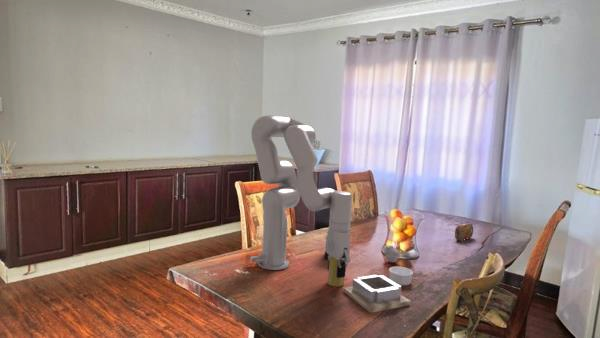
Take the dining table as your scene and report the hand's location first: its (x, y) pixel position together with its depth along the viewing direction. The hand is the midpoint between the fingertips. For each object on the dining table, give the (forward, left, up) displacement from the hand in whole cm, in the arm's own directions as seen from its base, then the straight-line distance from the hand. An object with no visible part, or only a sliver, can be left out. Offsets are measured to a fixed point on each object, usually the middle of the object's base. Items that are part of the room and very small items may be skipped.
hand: (336, 273), depth 143 cm
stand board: (+7, -15, -4) cm, 17 cm away
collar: (+7, -15, -2) cm, 17 cm away
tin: (+96, +28, -4) cm, 100 cm away
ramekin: (+25, -6, -4) cm, 26 cm away
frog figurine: (+35, +12, -4) cm, 37 cm away
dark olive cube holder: (+15, +24, -4) cm, 29 cm away
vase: (0, 0, -4) cm, 4 cm away
